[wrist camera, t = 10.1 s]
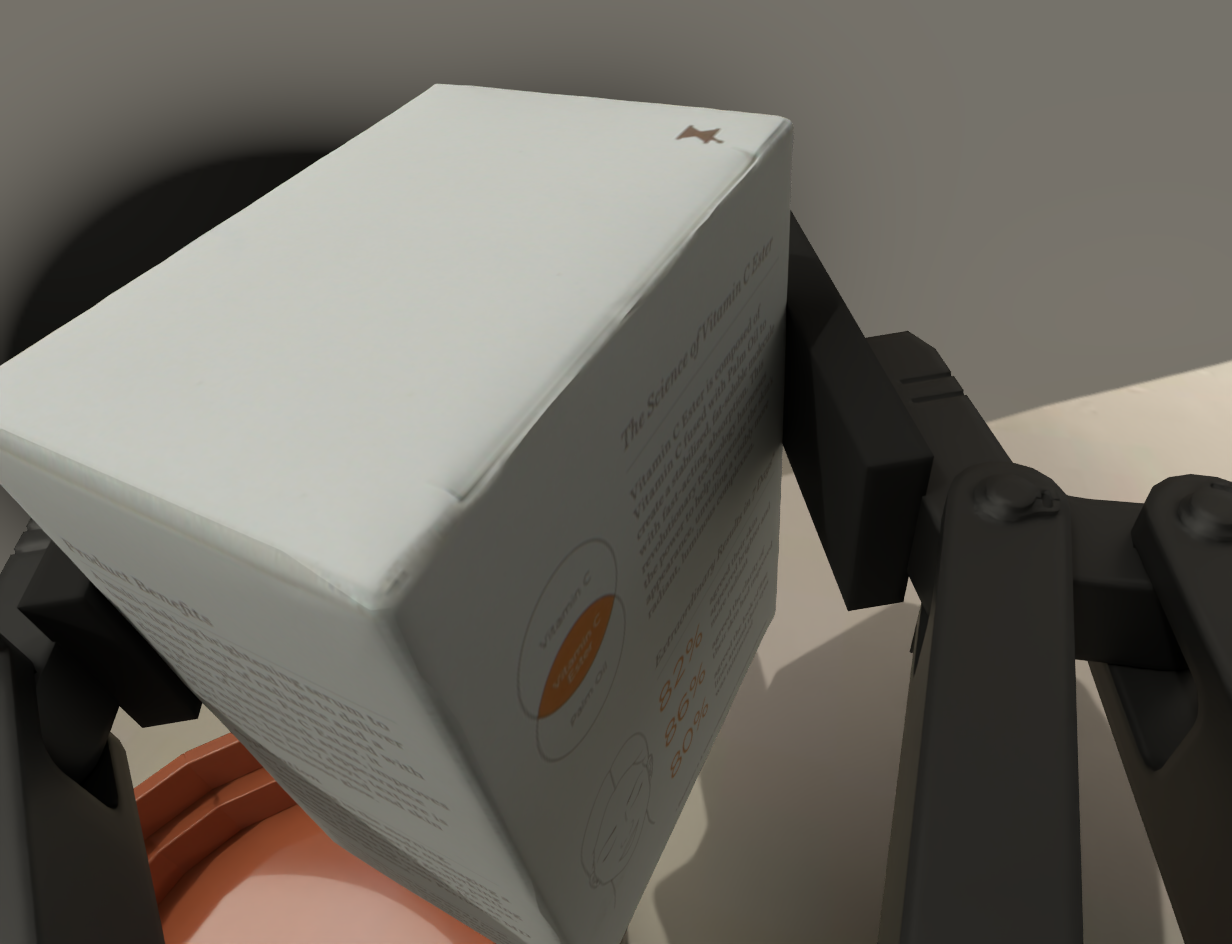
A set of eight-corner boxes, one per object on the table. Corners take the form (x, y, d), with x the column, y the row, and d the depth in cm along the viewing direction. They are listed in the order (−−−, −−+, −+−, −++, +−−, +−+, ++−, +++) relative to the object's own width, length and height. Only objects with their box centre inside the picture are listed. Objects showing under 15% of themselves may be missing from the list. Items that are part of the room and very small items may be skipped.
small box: (557, 537, 19) (439, 71, 12) (783, 616, 17) (806, 100, 10) (325, 850, 15) (-96, 397, 7) (594, 1018, 12) (366, 602, 5)
